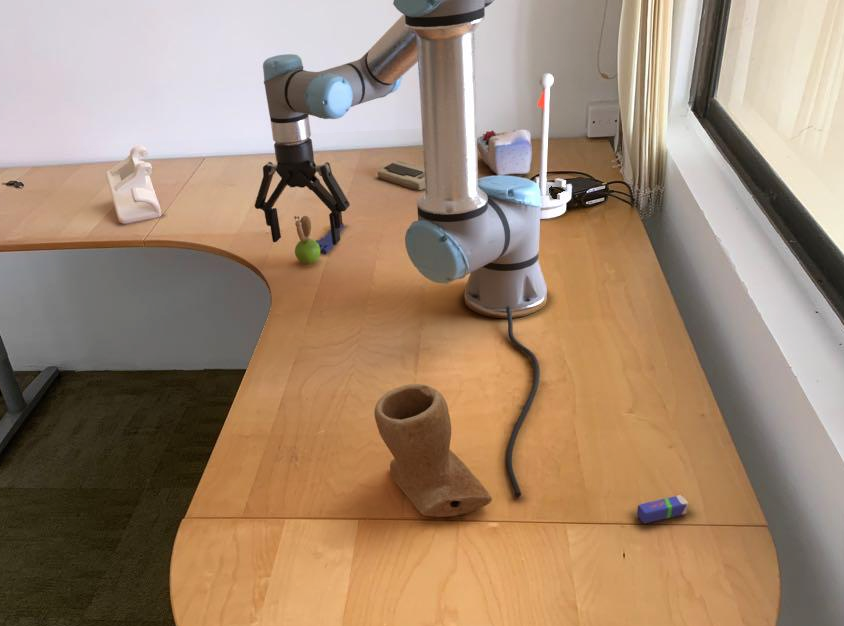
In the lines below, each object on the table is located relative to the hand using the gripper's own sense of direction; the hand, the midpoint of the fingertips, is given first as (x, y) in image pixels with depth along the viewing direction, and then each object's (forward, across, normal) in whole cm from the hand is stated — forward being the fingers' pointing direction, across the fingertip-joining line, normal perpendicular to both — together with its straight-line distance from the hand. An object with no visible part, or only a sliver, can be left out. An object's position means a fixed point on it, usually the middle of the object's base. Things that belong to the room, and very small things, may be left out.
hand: (306, 241), depth 177 cm
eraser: (+7, -74, +64) cm, 98 cm away
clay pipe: (+7, -44, +66) cm, 80 cm away
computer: (+5, -8, -52) cm, 53 cm away
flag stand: (+6, -44, -36) cm, 57 cm away
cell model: (+5, -31, -64) cm, 71 cm away
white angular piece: (+5, +57, -25) cm, 63 cm away
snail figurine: (+6, 0, 0) cm, 6 cm away
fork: (+5, 0, -13) cm, 14 cm away
